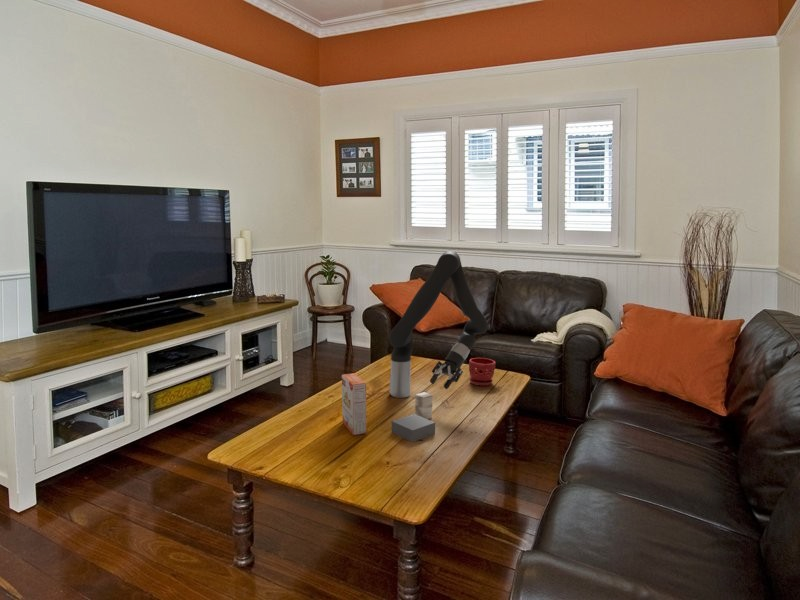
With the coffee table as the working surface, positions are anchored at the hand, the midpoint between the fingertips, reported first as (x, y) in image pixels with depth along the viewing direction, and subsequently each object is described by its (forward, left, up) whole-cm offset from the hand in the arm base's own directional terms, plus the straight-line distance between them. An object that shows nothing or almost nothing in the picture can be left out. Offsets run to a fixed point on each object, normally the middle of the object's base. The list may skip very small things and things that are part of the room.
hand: (438, 385), depth 234 cm
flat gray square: (+10, -22, -13) cm, 27 cm away
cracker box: (-8, -38, -13) cm, 41 cm away
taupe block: (0, -8, -12) cm, 15 cm away
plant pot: (-17, +46, -13) cm, 51 cm away
